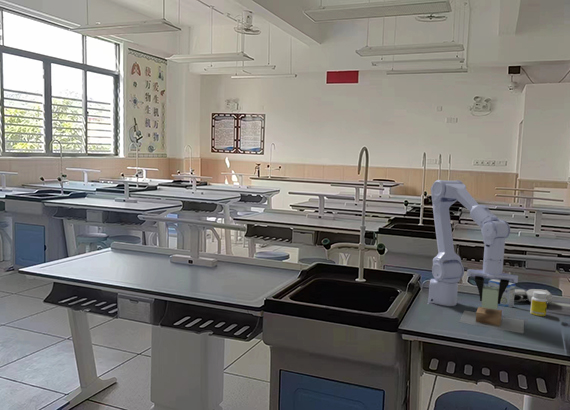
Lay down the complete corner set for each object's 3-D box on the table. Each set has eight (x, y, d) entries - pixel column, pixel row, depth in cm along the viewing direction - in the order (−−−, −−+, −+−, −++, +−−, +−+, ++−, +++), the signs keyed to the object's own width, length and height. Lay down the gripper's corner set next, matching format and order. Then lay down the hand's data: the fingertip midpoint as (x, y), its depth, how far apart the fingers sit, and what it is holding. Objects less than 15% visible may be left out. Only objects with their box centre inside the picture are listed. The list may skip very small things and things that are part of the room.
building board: (458, 325, 153) (458, 322, 152) (464, 313, 165) (464, 310, 165) (523, 336, 144) (523, 333, 144) (523, 323, 157) (524, 320, 157)
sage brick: (481, 307, 154) (482, 288, 153) (482, 303, 158) (484, 285, 157) (496, 309, 152) (498, 290, 151) (497, 306, 156) (499, 287, 155)
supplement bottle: (547, 320, 161) (549, 294, 160) (532, 318, 162) (534, 293, 161) (543, 315, 166) (545, 291, 165) (528, 314, 167) (530, 289, 166)
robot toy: (507, 306, 179) (554, 308, 174) (507, 293, 179) (554, 296, 174) (505, 297, 191) (549, 300, 185) (505, 286, 190) (549, 288, 185)
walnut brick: (475, 321, 154) (476, 312, 153) (477, 315, 160) (478, 306, 159) (499, 325, 150) (500, 316, 150) (501, 319, 157) (502, 310, 156)
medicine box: (486, 303, 178) (488, 280, 177) (492, 301, 181) (493, 278, 180) (508, 309, 172) (510, 284, 171) (513, 306, 175) (515, 282, 174)
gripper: (467, 258, 153) (464, 300, 154) (518, 264, 146) (515, 308, 148) (469, 254, 159) (466, 295, 160) (519, 260, 153) (515, 303, 154)
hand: (490, 301), depth 155 cm, fingers closed on sage brick, 4 cm apart
